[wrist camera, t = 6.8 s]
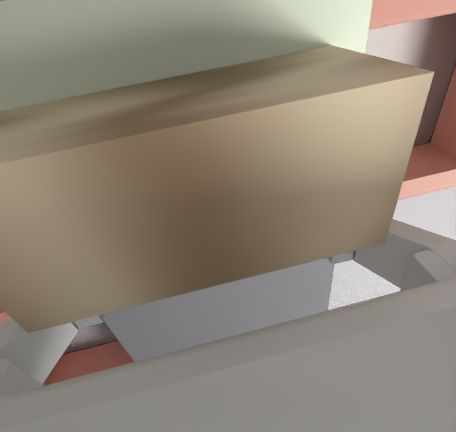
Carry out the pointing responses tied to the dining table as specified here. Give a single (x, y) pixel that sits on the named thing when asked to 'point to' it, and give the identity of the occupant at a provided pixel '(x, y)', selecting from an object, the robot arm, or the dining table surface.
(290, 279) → the board
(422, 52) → the dining table surface
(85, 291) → the beech bar
